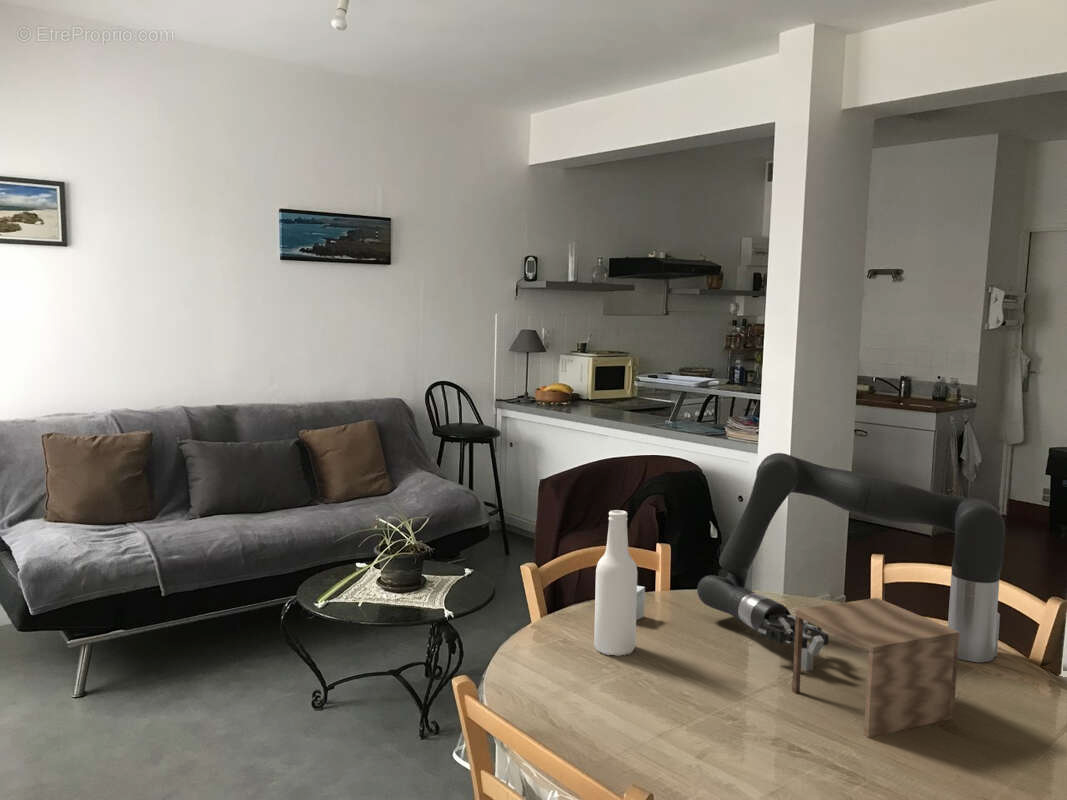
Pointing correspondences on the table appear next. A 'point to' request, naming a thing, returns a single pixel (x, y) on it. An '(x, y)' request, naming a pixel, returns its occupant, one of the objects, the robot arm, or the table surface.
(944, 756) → the table surface
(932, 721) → the open side box
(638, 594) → the product box
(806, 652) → the lighter
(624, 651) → the alcohol
